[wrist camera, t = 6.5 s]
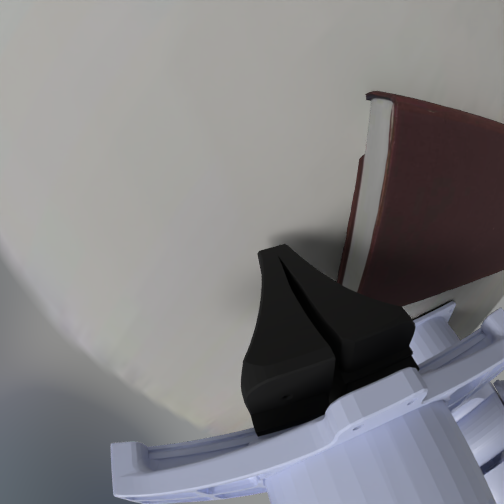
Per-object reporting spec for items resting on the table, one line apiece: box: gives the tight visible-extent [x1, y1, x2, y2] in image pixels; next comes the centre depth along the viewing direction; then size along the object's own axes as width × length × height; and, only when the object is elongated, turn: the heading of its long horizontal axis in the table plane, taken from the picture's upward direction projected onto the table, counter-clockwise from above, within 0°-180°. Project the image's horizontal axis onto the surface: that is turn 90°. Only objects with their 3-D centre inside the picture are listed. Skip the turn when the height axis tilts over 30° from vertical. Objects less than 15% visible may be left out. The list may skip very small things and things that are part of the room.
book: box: [337, 91, 504, 306], centre depth 16 cm, size 12×19×3 cm, turn 90°
